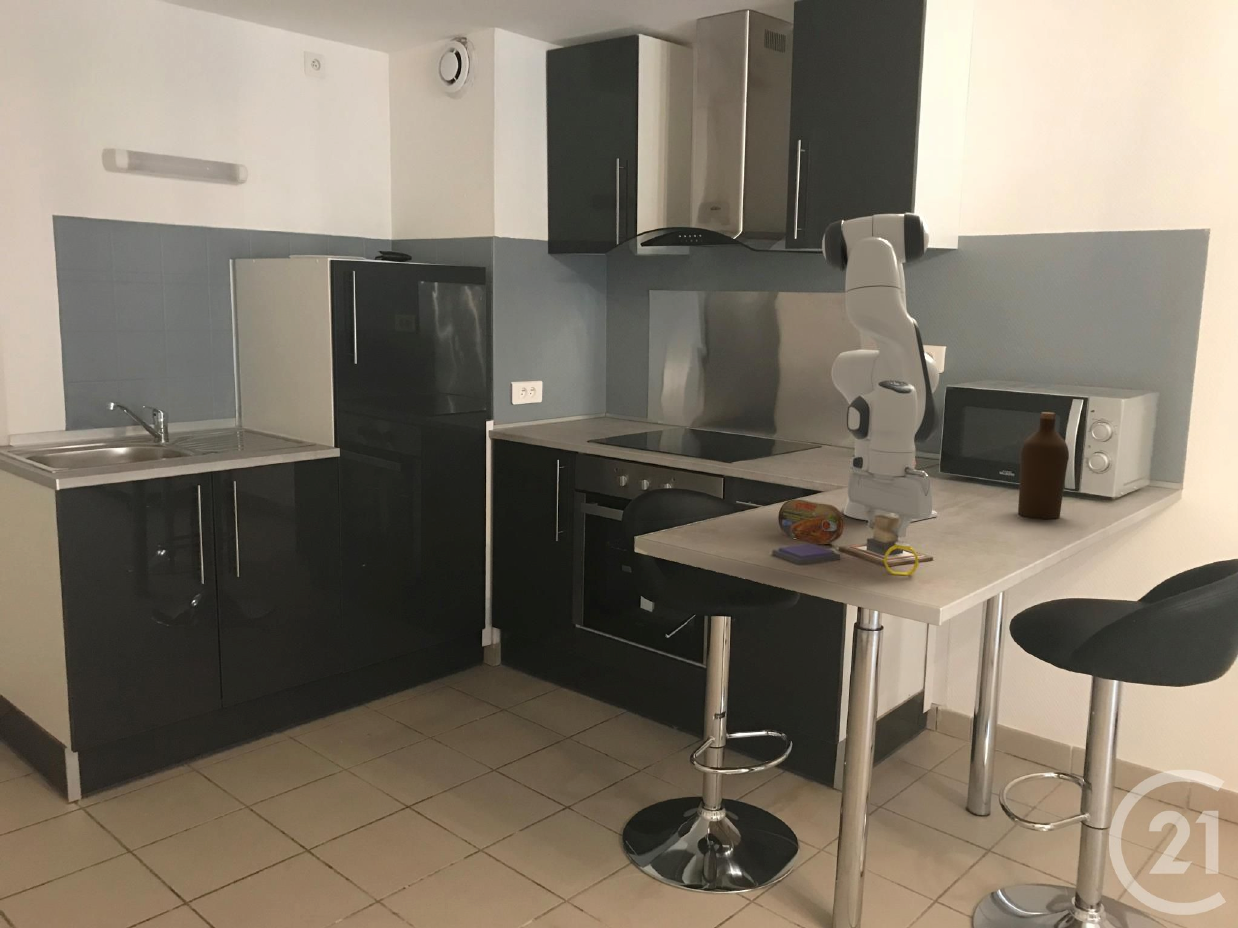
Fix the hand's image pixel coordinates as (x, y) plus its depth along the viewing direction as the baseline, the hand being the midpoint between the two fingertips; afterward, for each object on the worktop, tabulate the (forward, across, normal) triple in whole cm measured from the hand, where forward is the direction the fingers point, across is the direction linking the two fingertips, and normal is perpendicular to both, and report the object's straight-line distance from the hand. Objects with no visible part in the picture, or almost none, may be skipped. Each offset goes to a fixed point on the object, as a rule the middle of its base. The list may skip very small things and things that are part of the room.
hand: (886, 532), depth 195 cm
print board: (+5, 0, 0) cm, 5 cm away
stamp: (+4, 0, 0) cm, 4 cm away
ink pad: (+5, +5, +16) cm, 17 cm away
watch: (+5, -12, +8) cm, 15 cm away
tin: (+5, +16, +6) cm, 18 cm away
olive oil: (+5, +14, -63) cm, 65 cm away
